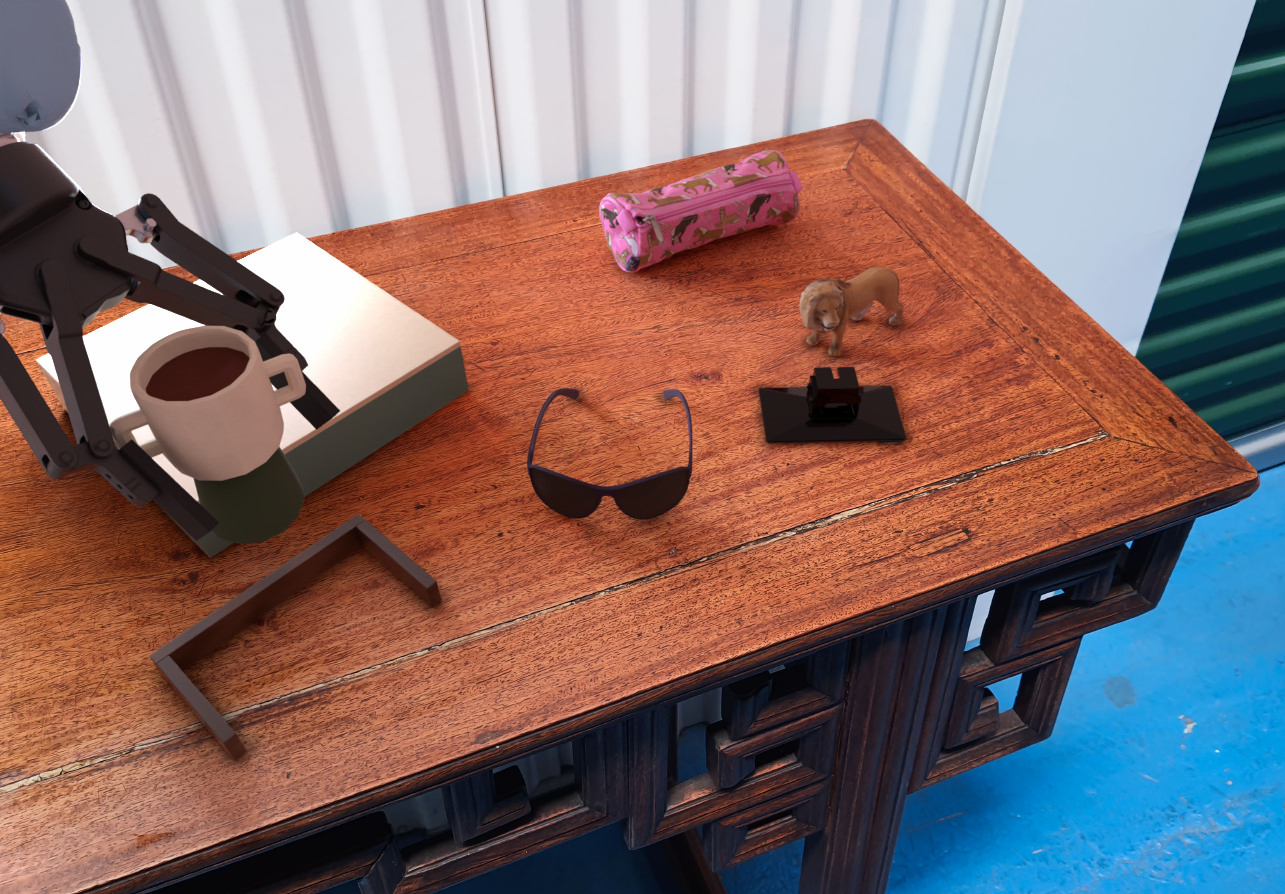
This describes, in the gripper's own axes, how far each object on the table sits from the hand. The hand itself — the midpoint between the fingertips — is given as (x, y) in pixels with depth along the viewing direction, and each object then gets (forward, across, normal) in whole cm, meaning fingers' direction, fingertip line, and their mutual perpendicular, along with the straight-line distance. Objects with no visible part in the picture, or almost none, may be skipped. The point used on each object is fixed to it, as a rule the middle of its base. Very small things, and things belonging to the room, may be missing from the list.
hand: (271, 473), depth 60 cm
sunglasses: (+19, -26, -7) cm, 34 cm away
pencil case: (+14, -59, -13) cm, 62 cm away
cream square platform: (-4, -18, -30) cm, 35 cm away
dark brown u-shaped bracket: (+12, +1, -15) cm, 19 cm away
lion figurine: (+28, -51, +2) cm, 58 cm away
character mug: (+2, 0, -6) cm, 6 cm away
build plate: (+30, -40, +3) cm, 50 cm away
